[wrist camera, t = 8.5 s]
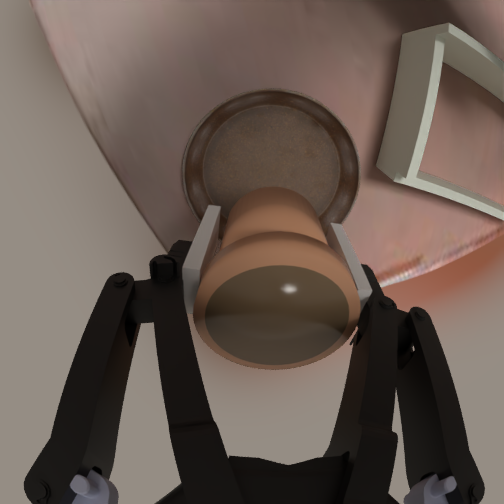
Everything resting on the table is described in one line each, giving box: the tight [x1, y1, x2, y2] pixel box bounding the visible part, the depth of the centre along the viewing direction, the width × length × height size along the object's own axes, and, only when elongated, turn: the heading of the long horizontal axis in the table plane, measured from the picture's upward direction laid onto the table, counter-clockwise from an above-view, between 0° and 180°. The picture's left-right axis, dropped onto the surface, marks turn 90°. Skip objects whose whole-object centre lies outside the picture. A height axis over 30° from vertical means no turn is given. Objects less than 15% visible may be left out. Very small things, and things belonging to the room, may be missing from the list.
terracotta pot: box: [193, 187, 361, 370], centre depth 15 cm, size 7×7×8 cm
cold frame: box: [376, 23, 504, 220], centre depth 19 cm, size 16×26×9 cm, turn 82°
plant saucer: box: [182, 89, 361, 242], centre depth 27 cm, size 18×18×3 cm
